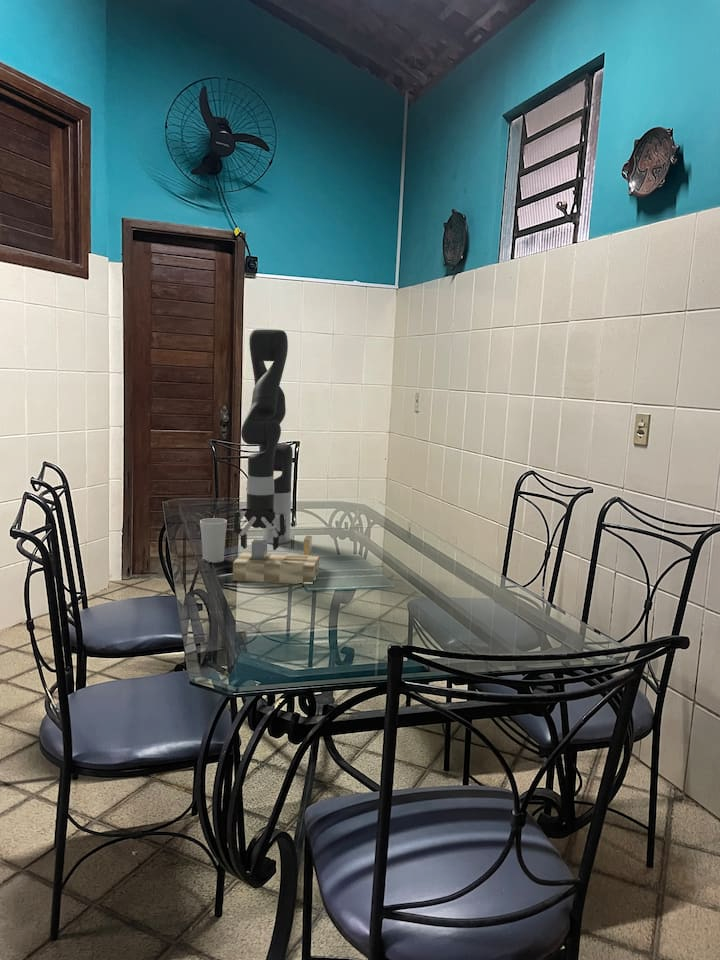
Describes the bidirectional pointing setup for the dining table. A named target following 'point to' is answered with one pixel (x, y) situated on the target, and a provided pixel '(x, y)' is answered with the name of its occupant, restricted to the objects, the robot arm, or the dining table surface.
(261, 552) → the square bit
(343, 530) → the dining table surface
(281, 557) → the socket block
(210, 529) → the cup
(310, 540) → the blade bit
